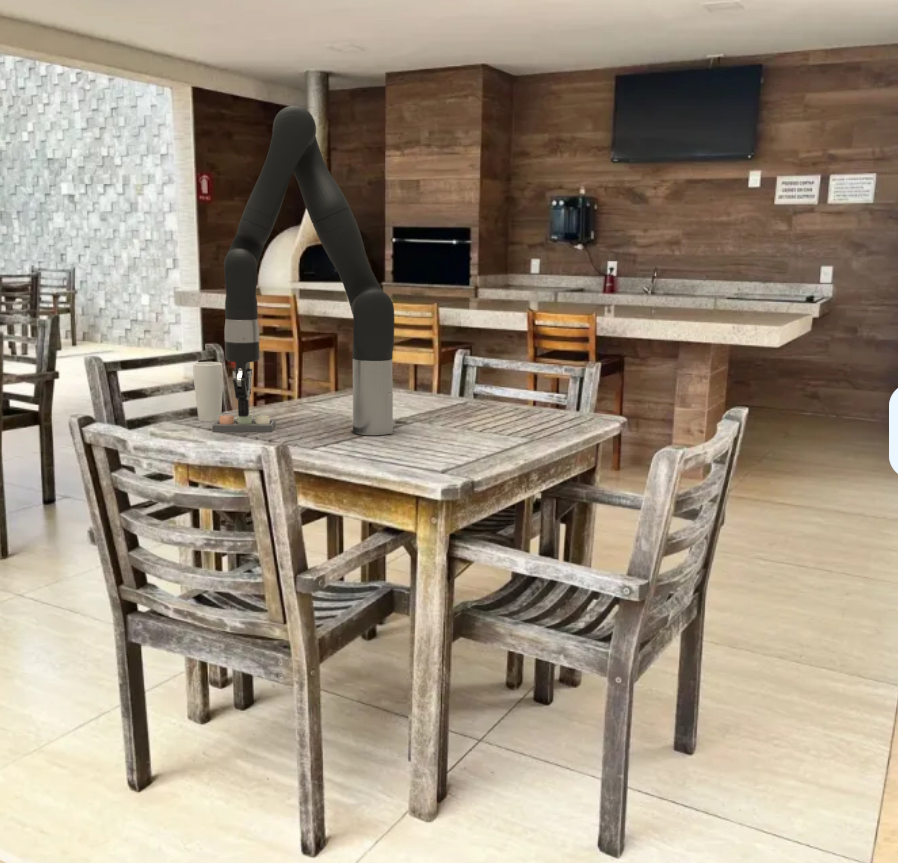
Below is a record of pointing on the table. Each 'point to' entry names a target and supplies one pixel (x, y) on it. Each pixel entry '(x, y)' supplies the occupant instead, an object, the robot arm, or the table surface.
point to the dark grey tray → (244, 427)
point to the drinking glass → (208, 389)
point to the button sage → (244, 420)
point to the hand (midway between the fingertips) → (243, 415)
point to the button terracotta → (226, 419)
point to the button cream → (262, 419)
